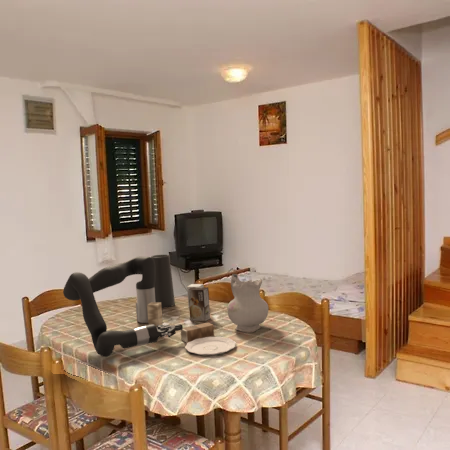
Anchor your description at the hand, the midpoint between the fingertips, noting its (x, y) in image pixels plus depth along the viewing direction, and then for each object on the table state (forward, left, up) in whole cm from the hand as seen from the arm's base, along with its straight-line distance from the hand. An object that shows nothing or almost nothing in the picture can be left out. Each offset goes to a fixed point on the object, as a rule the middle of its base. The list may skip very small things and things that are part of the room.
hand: (181, 326), depth 199 cm
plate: (+16, -2, -7) cm, 18 cm away
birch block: (-19, +4, -7) cm, 20 cm away
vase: (-51, +47, -7) cm, 70 cm away
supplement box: (-29, +50, -7) cm, 58 cm away
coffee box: (-13, +31, -7) cm, 34 cm away
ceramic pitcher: (+16, +28, -7) cm, 33 cm away
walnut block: (0, +1, -4) cm, 4 cm away
